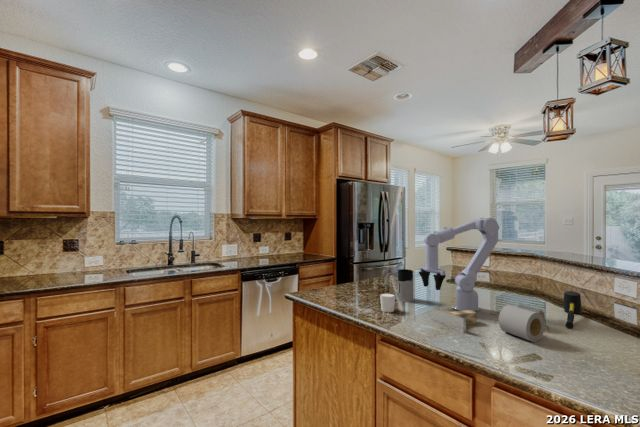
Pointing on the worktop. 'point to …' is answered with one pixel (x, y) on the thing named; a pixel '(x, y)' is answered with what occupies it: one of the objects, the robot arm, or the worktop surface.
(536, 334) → the toilet paper
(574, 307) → the mallet
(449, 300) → the worktop surface
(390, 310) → the shot glass
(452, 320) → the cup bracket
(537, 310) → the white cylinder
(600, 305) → the worktop surface
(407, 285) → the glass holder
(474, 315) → the maple rail
